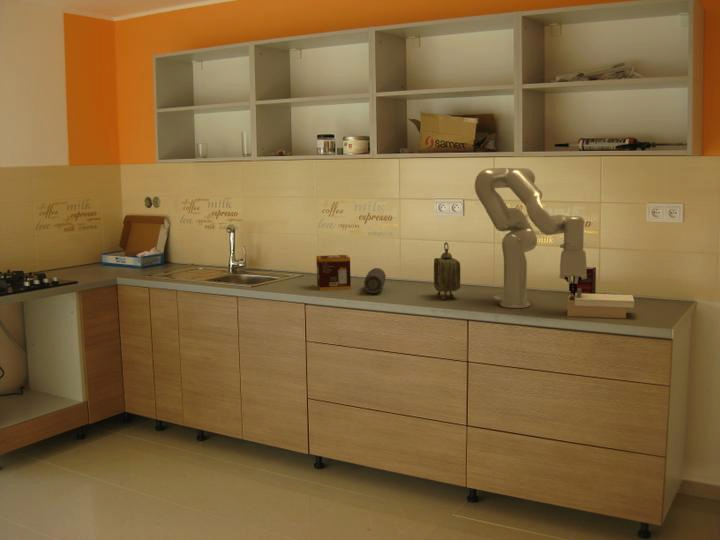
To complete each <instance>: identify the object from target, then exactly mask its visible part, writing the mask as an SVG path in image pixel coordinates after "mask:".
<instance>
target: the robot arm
mask: <svg viewBox="0 0 720 540" xmlns="http://www.w3.org/2000/svg"><path fill="white" fill-rule="evenodd" d="M535 181H536V177H535V173H534V172H533V171H532V170H531V169H529V168H526V167H523V168H519V167H518V168H517V167H516V168H515V167H489V168H485V169H483V170H481V171H480V172H479V173H478V174H477V175H476V177H475V180H474V190H475V194H476V196H477V198H478V200H479V201H480V203H481V205H482V206H483V208H484V210H485V211H486V214H487V216H488V217H489V219H490V220H491V223H492V224H493V226H494V228H495V229H496V230H497V231H499V232H508V233H506V234H505V235H504V237H503V238H502V241H501V249H502V255H503V293H502V294H500V295H492V300H493V301H500V302H499V306H500V307H502V308H507V309H525V308H526V309H527V308H528V307H530V306H531V302H529V301H527V284H528V283H527V281H528V278H527V275H528V262H527V258H526V255H525V253H526V252H527V253H528V252H530V251H531V252H532V251H533V250H534V249H535V248H536V247H537V243H538V237H537V234H536V232H535V230H534V229H533V228H532V227H533V226H531V224H530V222H529V220H530V221H531V222H532V223H533V225H534V226H535V227H536V228H537V229H538V230H539V231H540V232H541V233H543V234H544V235H546V236H553V235H559V234H563V243H561V244H559V249H560V248H561V249H563V250H561V253H560V258H559V259H560V260H559V261H560V263H559V278H560V279H562V280H565V281H566V282H567V283H568V292H570V294H571V295H573V293H574V294H575V291H577V283H578V282H579V281H580V280H582V279H586V278H587V274H586V271H587V267H588V266H587V255H586V251H585V250H584V236H585V235H584V229H585V226H584V225H585V222H584V221H585V220H584V218H583V216H579V215H578V216H577V215H571V216H570V215H564V214H556V215H555V214H554V215H550V213H548V211H546V209H545V208H544V206H543V205H542V202H541V200H542V198H543V192H542V191H541V189H540V188H539V187H538V186H537V185H536V184H535ZM499 188H500V189H501V188H508V189H510V191H512V192H513V194H514V195H515V196H516V197H517V198H518V199H519V200H520V201H521V203H522V204H523V205H524V206H525V208H526V213H527V215H528V218H529V220H528V219H527V217H526V215H525V213H524V212H522V211H523V210H520V209H519V208H516V207H508V206H507V204H506V203H505V201H504V199H503V197H502V196H501V195H500V194H499V193H498V192H497V190H496V189H499ZM509 231H510V232H509ZM573 276H575V281H574V283H573V279H572V277H573Z"/></svg>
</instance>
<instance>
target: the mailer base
mask: <svg viewBox="0 0 720 540" xmlns="http://www.w3.org/2000/svg"><path fill="white" fill-rule="evenodd" d="M566 309H567V313H566V314H567V317H581V318H582V317H583V318H584V317H585V318H605V319H607V318H610V319H627V307H603V306H576V305H575V296H573V295H568V297H567V308H566Z"/></svg>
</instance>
